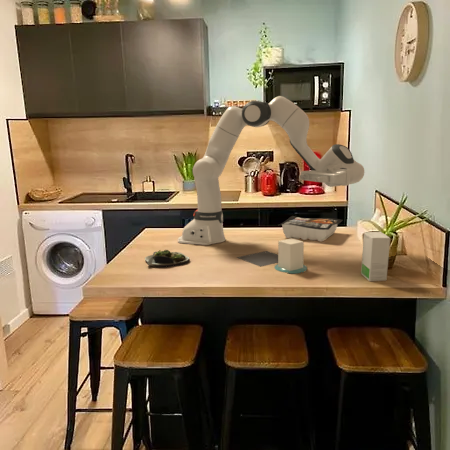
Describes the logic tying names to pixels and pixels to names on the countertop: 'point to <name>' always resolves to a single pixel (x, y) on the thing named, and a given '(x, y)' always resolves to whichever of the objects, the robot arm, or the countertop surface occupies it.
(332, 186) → the robot arm
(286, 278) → the countertop surface
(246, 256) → the mat
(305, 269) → the teal pot lid
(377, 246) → the skincare box
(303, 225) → the food packaging
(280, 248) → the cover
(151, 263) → the salad plate
